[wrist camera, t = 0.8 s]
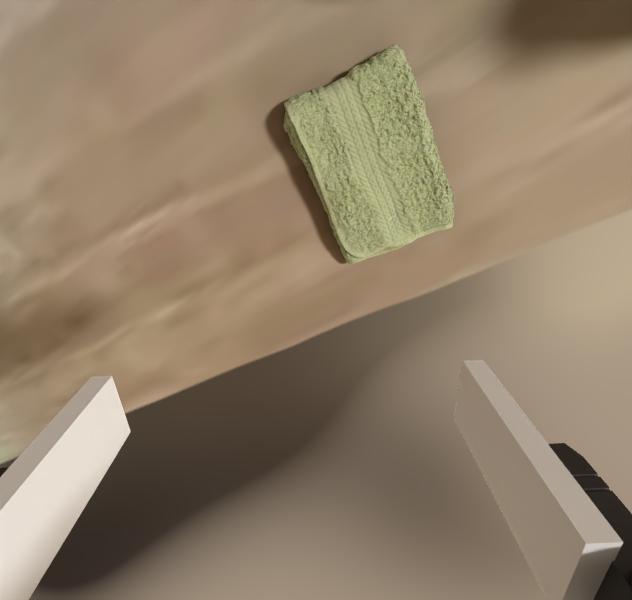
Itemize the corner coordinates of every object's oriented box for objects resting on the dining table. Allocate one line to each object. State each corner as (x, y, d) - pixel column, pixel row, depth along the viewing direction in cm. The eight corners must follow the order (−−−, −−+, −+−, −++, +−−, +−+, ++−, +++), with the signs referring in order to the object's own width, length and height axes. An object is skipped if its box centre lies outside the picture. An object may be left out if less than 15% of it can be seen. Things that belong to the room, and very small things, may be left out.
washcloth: (346, 266, 41) (349, 276, 38) (275, 108, 35) (271, 105, 32) (457, 217, 39) (469, 223, 36) (404, 39, 33) (413, 29, 30)
